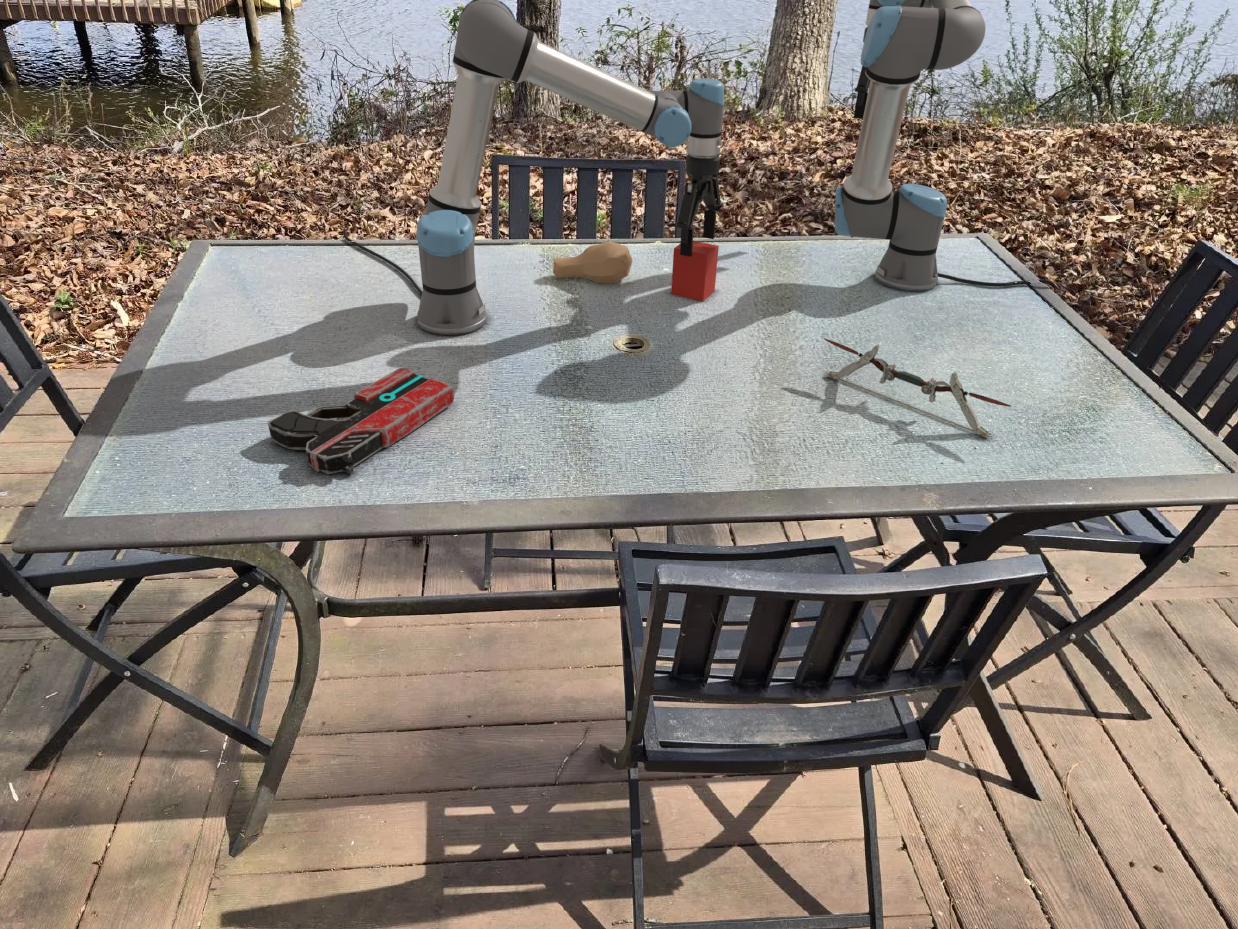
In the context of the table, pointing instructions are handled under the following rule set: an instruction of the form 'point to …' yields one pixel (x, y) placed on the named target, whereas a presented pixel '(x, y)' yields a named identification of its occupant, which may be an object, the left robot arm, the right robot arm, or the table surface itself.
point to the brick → (695, 271)
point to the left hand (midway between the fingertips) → (697, 246)
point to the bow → (927, 387)
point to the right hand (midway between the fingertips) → (865, 113)
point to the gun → (362, 421)
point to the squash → (596, 263)
